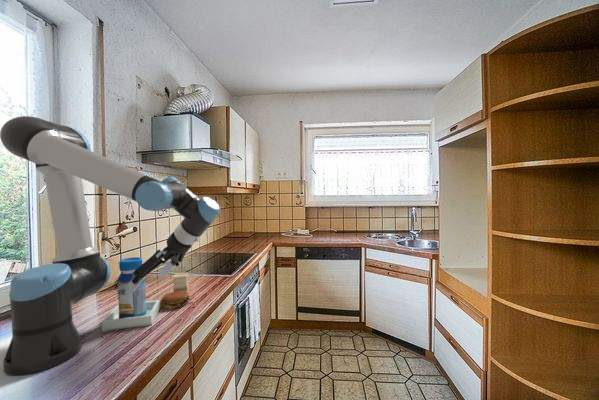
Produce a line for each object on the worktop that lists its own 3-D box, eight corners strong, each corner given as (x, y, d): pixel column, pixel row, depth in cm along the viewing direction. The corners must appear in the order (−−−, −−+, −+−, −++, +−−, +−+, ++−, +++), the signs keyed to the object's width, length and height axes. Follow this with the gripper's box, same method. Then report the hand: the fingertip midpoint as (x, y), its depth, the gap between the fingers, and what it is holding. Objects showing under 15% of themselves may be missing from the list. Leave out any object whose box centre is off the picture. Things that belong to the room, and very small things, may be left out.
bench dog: (187, 297, 114) (186, 275, 113) (173, 298, 112) (173, 276, 112) (188, 293, 118) (187, 272, 118) (175, 294, 117) (175, 273, 117)
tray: (151, 324, 90) (151, 315, 90) (101, 331, 86) (101, 322, 86) (160, 307, 104) (160, 299, 104) (117, 313, 100) (117, 304, 100)
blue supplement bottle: (148, 318, 93) (146, 259, 93) (118, 325, 89) (116, 264, 88) (145, 309, 100) (143, 255, 100) (118, 316, 96) (115, 258, 95)
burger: (155, 308, 103) (155, 296, 103) (172, 299, 112) (172, 288, 112) (179, 311, 101) (178, 298, 101) (194, 301, 110) (193, 289, 110)
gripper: (163, 255, 77) (122, 304, 81) (212, 239, 101) (178, 278, 105) (146, 235, 78) (106, 286, 82) (198, 224, 102) (165, 264, 106)
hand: (146, 281), depth 94 cm, fingers open, 13 cm apart
